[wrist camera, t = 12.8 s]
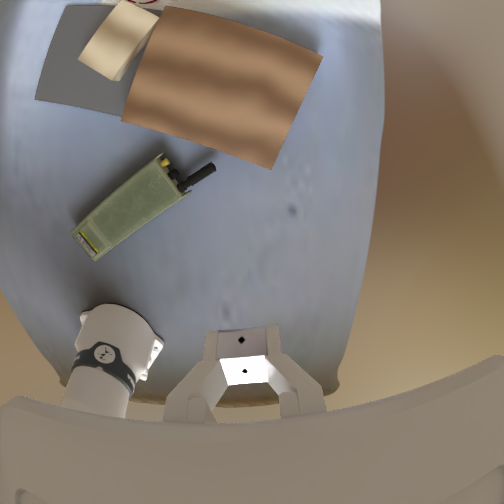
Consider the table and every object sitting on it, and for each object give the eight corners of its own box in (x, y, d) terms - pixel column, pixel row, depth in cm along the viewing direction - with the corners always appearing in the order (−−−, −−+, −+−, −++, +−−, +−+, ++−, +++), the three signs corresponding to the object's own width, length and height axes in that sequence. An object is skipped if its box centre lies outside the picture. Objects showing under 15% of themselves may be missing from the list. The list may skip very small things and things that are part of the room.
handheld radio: (100, 254, 43) (221, 170, 37) (93, 265, 40) (219, 177, 34) (76, 225, 40) (193, 130, 34) (66, 234, 37) (188, 133, 31)
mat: (127, 117, 32) (126, 118, 32) (35, 99, 28) (34, 99, 28) (168, 12, 25) (168, 11, 24) (67, 6, 21) (66, 5, 20)
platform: (268, 163, 36) (271, 170, 33) (130, 118, 32) (120, 120, 29) (316, 60, 29) (323, 56, 26) (172, 13, 25) (165, 5, 22)
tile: (119, 81, 29) (111, 80, 27) (86, 60, 26) (77, 59, 24) (164, 22, 25) (159, 17, 23) (128, 3, 23) (121, -1, 20)
